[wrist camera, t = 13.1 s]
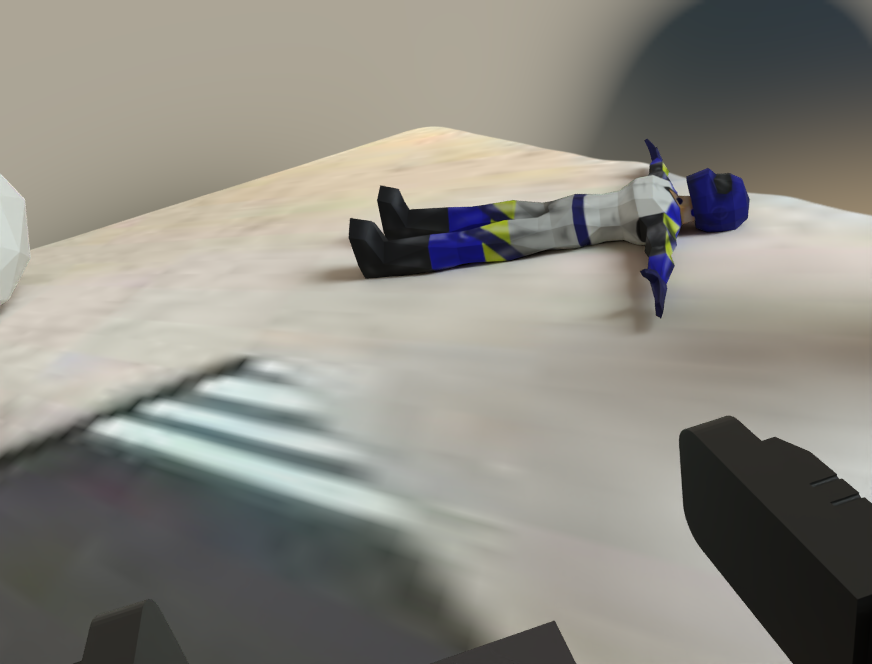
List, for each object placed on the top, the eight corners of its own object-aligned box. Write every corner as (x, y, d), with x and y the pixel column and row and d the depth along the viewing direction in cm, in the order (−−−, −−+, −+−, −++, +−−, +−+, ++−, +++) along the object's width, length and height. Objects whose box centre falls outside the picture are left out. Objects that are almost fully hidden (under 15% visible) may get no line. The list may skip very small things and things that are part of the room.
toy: (416, 146, 77) (728, 98, 68) (429, 202, 80) (731, 163, 71) (287, 285, 50) (780, 237, 41) (312, 363, 53) (781, 335, 43)
